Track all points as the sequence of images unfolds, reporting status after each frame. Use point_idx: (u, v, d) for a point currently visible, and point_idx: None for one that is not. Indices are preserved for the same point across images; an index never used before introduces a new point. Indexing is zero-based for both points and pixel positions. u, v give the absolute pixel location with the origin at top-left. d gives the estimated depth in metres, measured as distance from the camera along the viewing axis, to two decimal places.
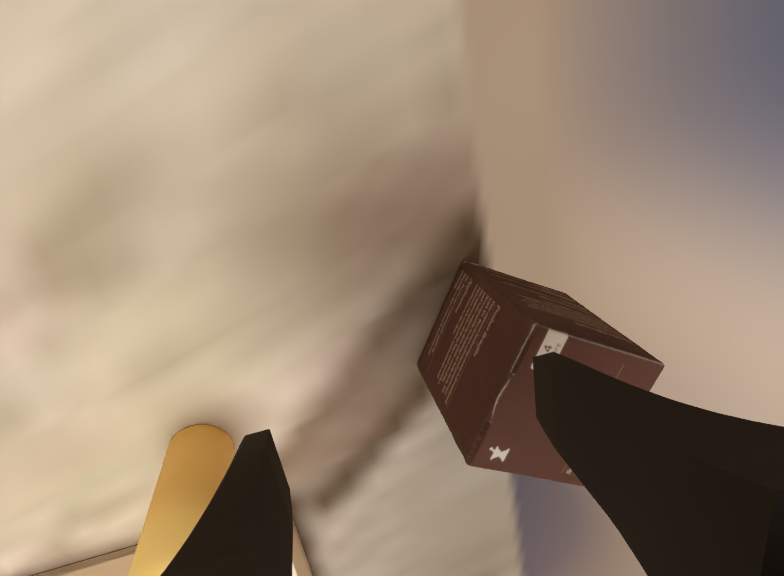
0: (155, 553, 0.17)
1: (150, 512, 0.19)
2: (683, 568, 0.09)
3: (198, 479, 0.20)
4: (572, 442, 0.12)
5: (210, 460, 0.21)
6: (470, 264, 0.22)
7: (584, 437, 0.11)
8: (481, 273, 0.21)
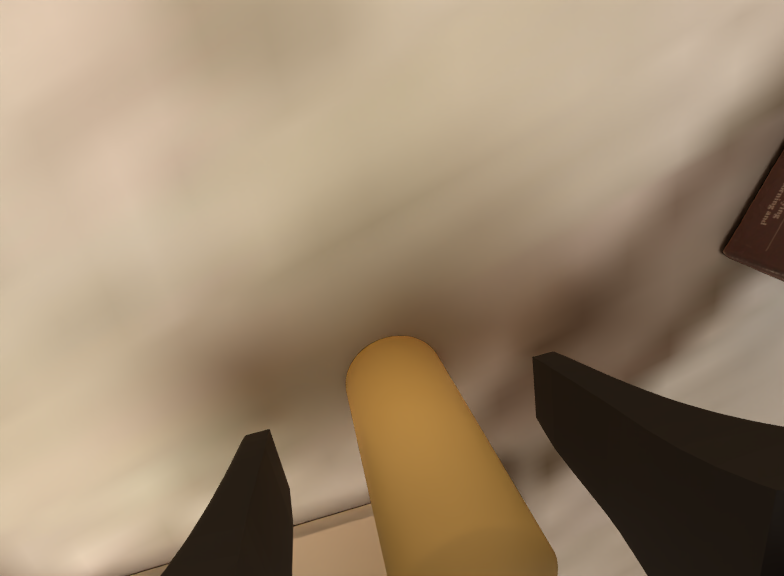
0: (463, 531, 0.08)
1: (389, 460, 0.10)
2: (683, 568, 0.09)
3: (451, 407, 0.11)
4: (572, 442, 0.12)
5: (446, 383, 0.13)
6: None
7: (584, 437, 0.11)
8: None
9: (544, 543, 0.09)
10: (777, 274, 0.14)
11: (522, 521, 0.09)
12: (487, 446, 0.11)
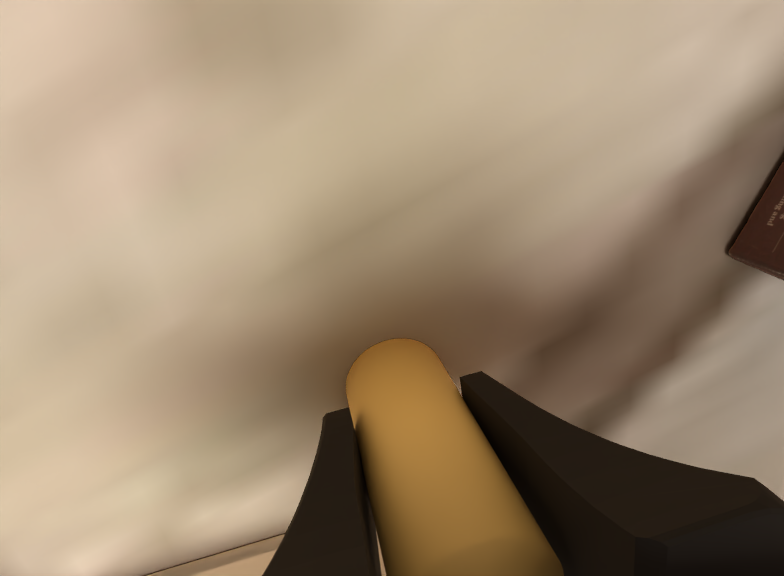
0: (467, 541, 0.08)
1: (391, 467, 0.10)
2: None
3: (453, 413, 0.11)
4: None
5: (448, 386, 0.12)
6: None
7: (502, 462, 0.11)
8: None
9: (550, 553, 0.08)
10: None
11: (528, 531, 0.08)
12: (491, 452, 0.10)
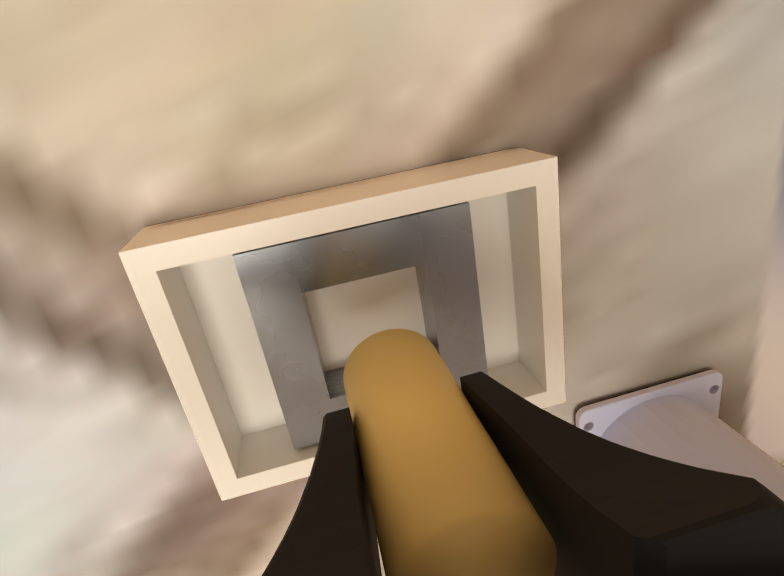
0: (468, 514, 0.08)
1: (390, 445, 0.10)
2: None
3: (453, 399, 0.11)
4: None
5: (447, 376, 0.13)
6: None
7: None
8: None
9: (546, 534, 0.08)
10: None
11: (526, 509, 0.08)
12: (489, 438, 0.10)
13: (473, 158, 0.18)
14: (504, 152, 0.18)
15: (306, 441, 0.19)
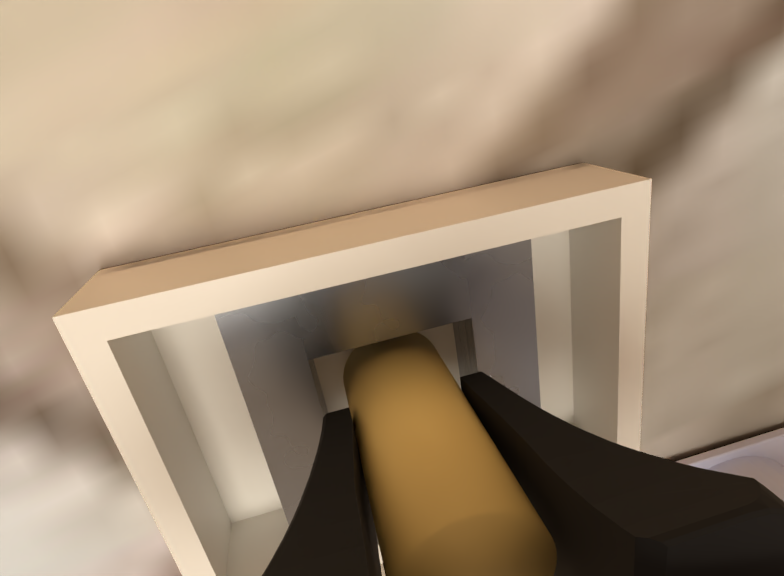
0: (468, 513, 0.08)
1: (390, 445, 0.10)
2: None
3: (453, 398, 0.11)
4: None
5: (447, 376, 0.13)
6: None
7: None
8: None
9: (546, 533, 0.08)
10: None
11: (526, 509, 0.08)
12: (489, 438, 0.10)
13: (529, 177, 0.14)
14: (568, 169, 0.14)
15: None
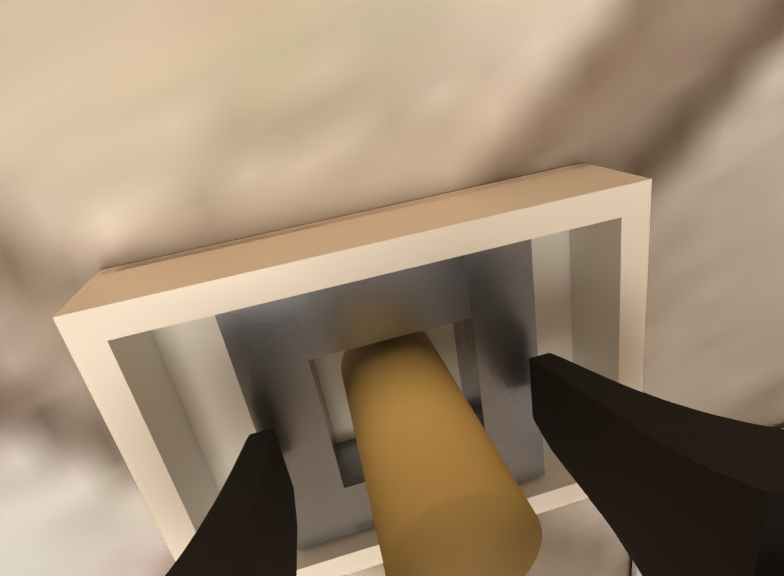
0: (458, 494, 0.09)
1: (386, 431, 0.11)
2: (678, 570, 0.09)
3: (446, 387, 0.12)
4: (568, 443, 0.12)
5: (441, 366, 0.13)
6: None
7: (580, 438, 0.11)
8: None
9: (531, 512, 0.09)
10: None
11: (513, 489, 0.09)
12: (479, 424, 0.11)
13: (529, 177, 0.14)
14: (568, 169, 0.14)
15: (313, 539, 0.15)
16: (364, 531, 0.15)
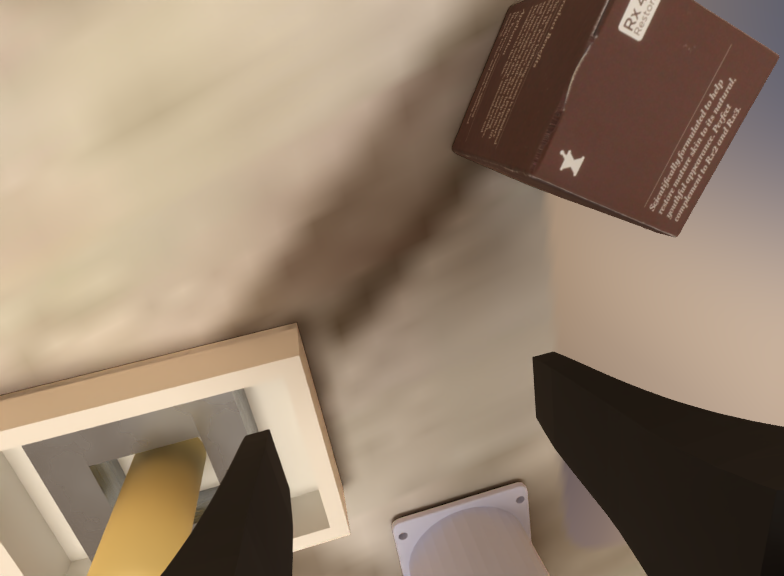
0: (113, 565, 0.16)
1: (112, 519, 0.18)
2: (683, 568, 0.09)
3: (166, 487, 0.19)
4: (572, 442, 0.12)
5: (180, 467, 0.20)
6: (520, 3, 0.19)
7: (584, 437, 0.11)
8: None
9: None
10: (469, 157, 0.19)
11: (154, 561, 0.16)
12: (174, 514, 0.18)
13: (253, 336, 0.21)
14: (280, 331, 0.22)
15: None
16: None
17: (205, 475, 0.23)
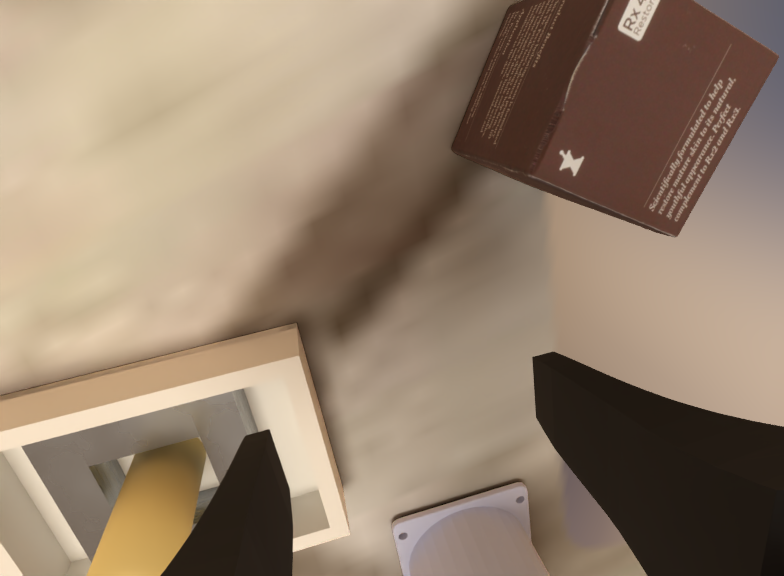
0: (113, 566, 0.16)
1: (111, 520, 0.18)
2: (683, 568, 0.09)
3: (165, 488, 0.19)
4: (572, 442, 0.12)
5: (180, 468, 0.20)
6: (520, 2, 0.18)
7: (584, 437, 0.11)
8: None
9: None
10: (468, 157, 0.19)
11: (153, 562, 0.16)
12: (173, 515, 0.18)
13: (252, 337, 0.21)
14: (280, 331, 0.22)
15: None
16: None
17: (205, 475, 0.23)
